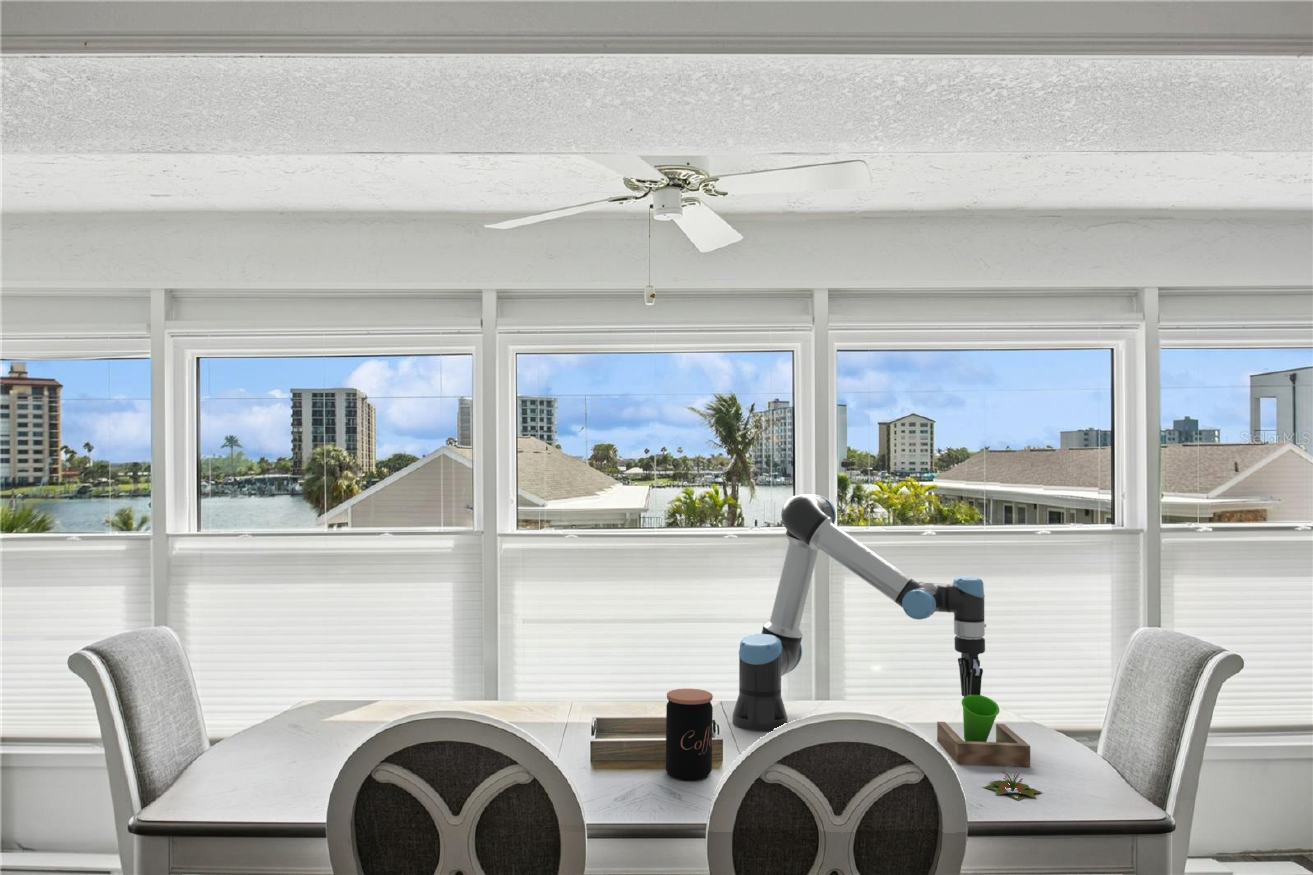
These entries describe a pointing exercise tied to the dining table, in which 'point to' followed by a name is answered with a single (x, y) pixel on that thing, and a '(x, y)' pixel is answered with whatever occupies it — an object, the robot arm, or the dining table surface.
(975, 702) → the cup
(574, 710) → the dining table surface
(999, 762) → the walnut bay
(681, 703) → the coffee jar
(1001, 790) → the lily flower
